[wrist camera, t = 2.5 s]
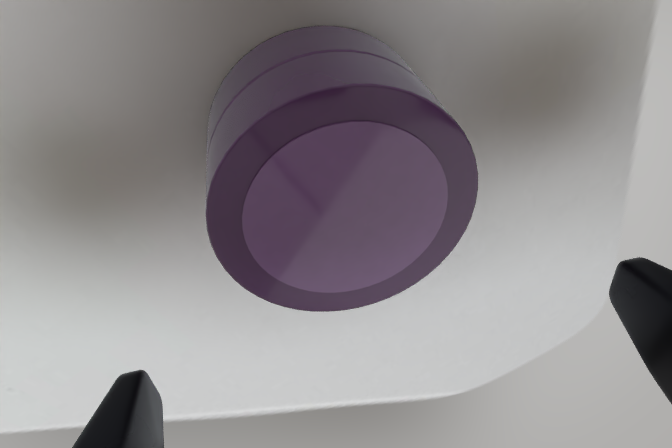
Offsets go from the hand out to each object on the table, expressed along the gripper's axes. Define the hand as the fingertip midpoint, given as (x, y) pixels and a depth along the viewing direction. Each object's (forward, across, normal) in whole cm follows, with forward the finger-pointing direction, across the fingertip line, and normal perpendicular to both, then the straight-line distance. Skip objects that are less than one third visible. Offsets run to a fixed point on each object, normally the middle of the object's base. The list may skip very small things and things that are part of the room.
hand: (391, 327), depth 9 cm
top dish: (+6, 0, 0) cm, 6 cm away
